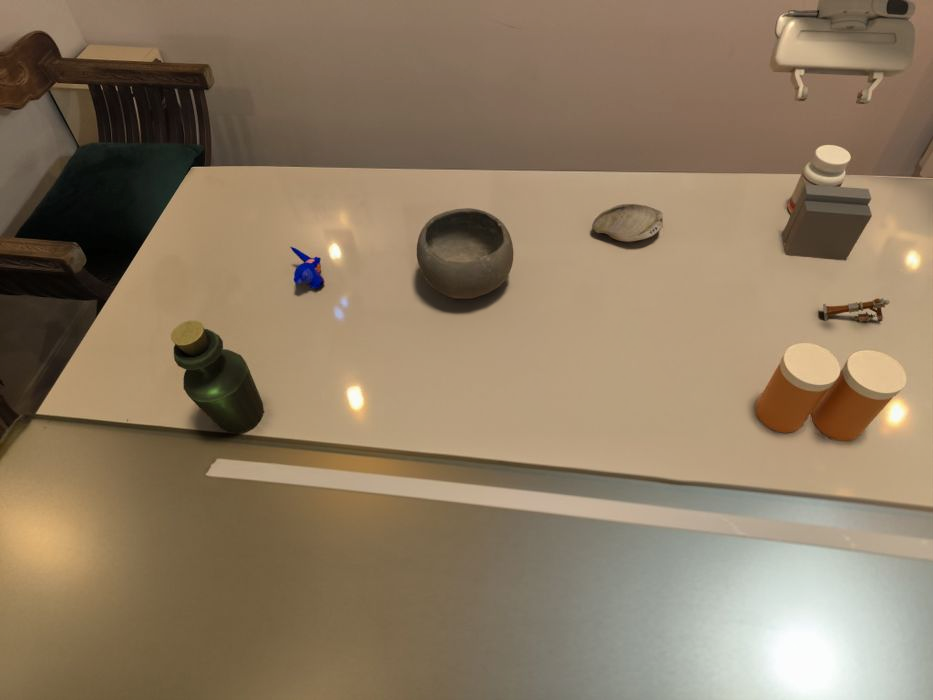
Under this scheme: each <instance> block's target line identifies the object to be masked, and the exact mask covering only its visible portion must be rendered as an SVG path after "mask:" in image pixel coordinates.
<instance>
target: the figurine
mask: <svg viewBox="0 0 933 700" xmlns="http://www.w3.org/2000/svg"><path fill="white" fill-rule="evenodd" d="M290 249H291V251H292V252H293V253H294V254H295V255H296V256H297V257H298V258H299V259H300V260H301V261H302V263H300V264H298V266H296V268H295V270H294V272H293V276H294V277H293V282H294V284H296V285H300V284H301V283H302V284H305V285H308V286H310V287H311V288H312V289H313V290H318V289H320V288H321V287H323V286H324V285H325V279H324V277H323V276H322V275H321V274H320V272H321V270H322V265H321V260H322V259H321V257H318V256H315V257H310V256H309V255H307V254H305V253H304V252H302V251H301V250H300V249H298V248H296V247H293V246H290Z"/></svg>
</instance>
